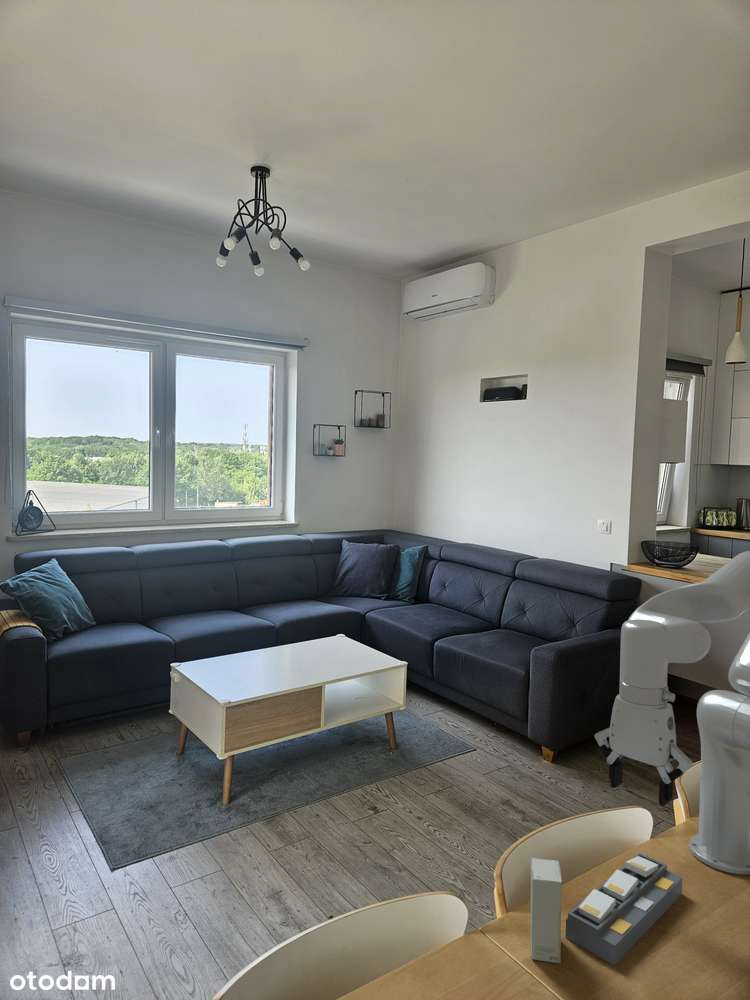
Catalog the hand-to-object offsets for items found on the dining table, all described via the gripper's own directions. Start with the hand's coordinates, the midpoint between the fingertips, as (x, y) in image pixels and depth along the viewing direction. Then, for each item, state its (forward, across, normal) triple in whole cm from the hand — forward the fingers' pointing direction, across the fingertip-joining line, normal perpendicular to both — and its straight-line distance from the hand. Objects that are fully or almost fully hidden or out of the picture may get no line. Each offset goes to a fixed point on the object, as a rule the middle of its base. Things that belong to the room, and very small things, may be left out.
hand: (639, 793), depth 112 cm
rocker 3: (+13, 0, -2) cm, 14 cm away
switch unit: (+18, -1, +6) cm, 19 cm away
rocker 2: (+13, 0, +6) cm, 15 cm away
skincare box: (+18, +4, +23) cm, 30 cm away
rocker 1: (+13, 0, +14) cm, 20 cm away
